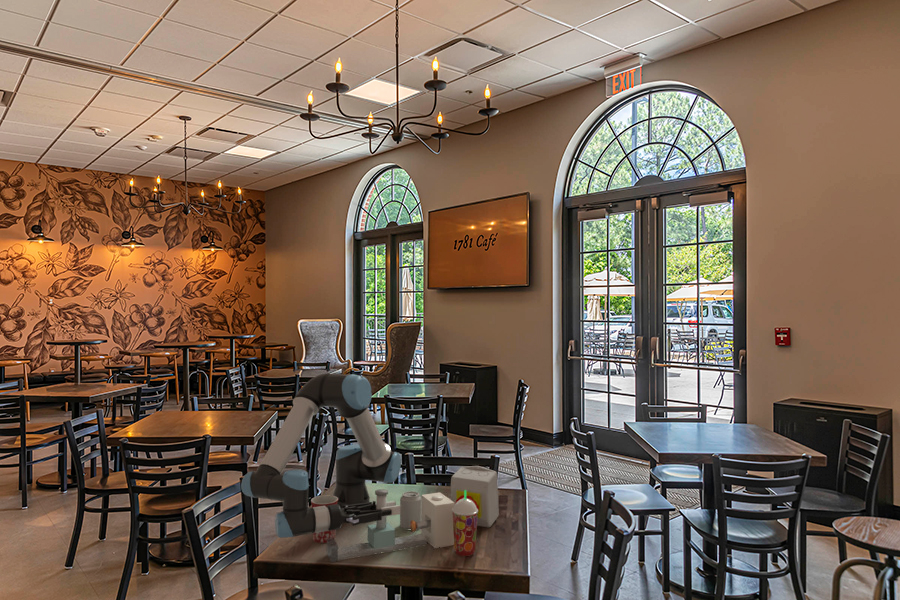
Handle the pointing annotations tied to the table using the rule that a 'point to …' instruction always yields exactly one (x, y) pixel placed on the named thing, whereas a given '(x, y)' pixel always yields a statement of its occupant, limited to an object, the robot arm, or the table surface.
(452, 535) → the white notched housing
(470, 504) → the smoothie
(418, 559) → the table surface
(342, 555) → the rail
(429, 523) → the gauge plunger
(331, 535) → the mug
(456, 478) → the electrical switch box
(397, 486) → the table surface
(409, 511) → the can
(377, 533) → the carriage
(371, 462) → the robot arm
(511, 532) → the table surface
